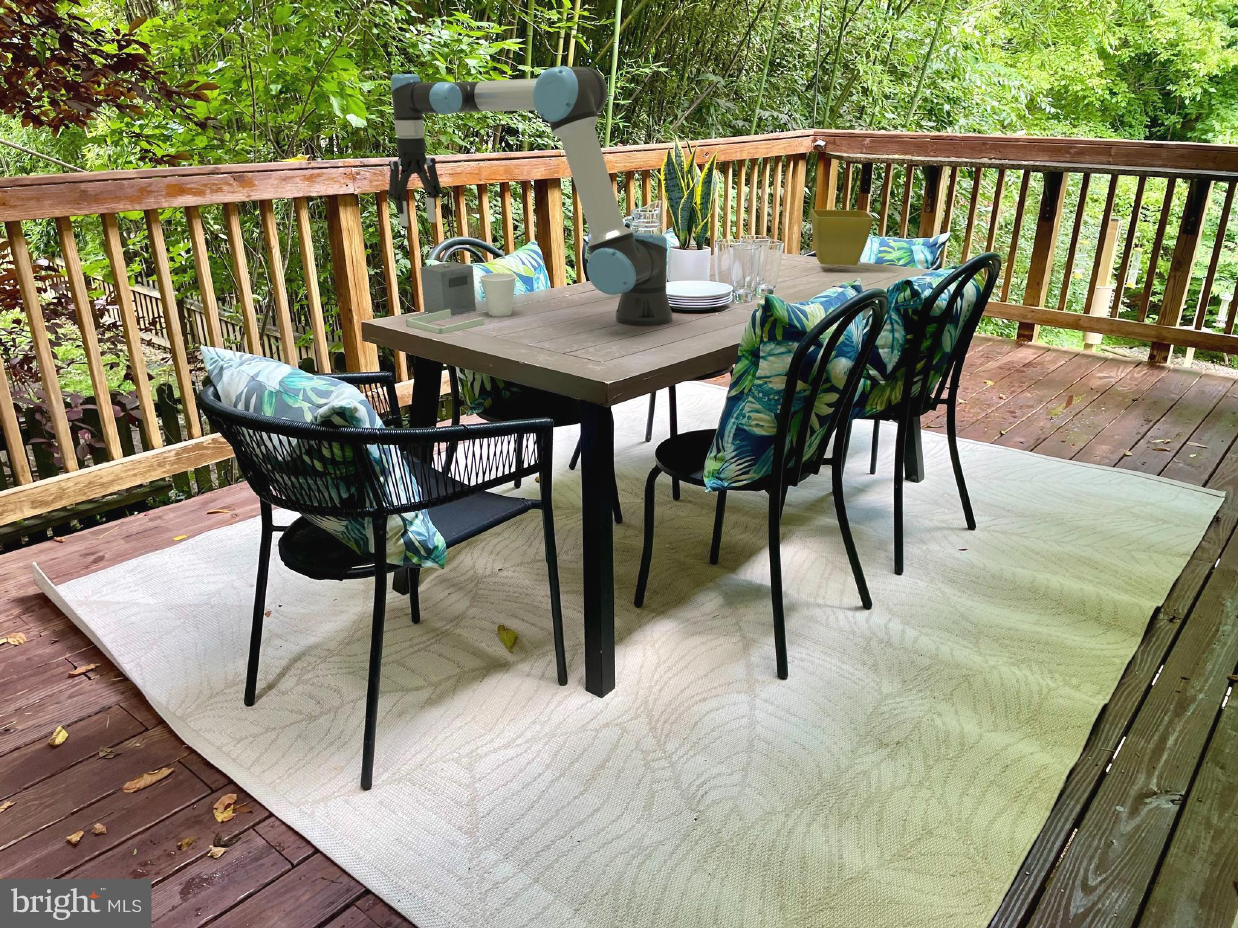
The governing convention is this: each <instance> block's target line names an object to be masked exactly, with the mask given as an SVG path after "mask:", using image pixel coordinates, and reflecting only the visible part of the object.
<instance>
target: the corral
mask: <svg viewBox="0 0 1238 928" xmlns="http://www.w3.org/2000/svg"><path fill="white" fill-rule="evenodd" d="M446 318H447V319H451V318H452V316H451V310H450V309H448V310H444V311H439V312H435V313H431V314H428V313H426V314H423V315H419V316H413V317H411V318H406V319H405V325H406V327H409V326H410V328H414V329H417V330H422V331H427V332H430V333H431V332H432V333H435V334H440V335H443V334H447V333H452V332H458V331H463V330H465V329H466V330H467V329H471V328H475V327H476V328H477V327H479V326H480V327H481V326H485V318H484V317H478V318H475V319H471V320H467V321H462V322H458V323H454V324H449V325H446V326H442V327H439V326H435V325H431V324H427V323H431V321H432V322H436V321H437V322H438V321H441V320H446Z"/></svg>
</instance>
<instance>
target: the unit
mask: <svg viewBox="0 0 1238 928" xmlns="http://www.w3.org/2000/svg"><path fill="white" fill-rule="evenodd" d="M419 269H420V271H419V272H420V280H421V290H422V301H423V311H424V312H428V313H435V312H439V311H444V310H448V309H450V310H451V315H453V316H457V315H456V314H458V315H462V314H461V313H463V314H466V313H465V312H468V313H470V312H469V311H473V312H477V307H476V293H475V291H476V290H475V280H474V279H475V276H474V266H473V265H472V264H471V265H470V264H468V263H467V264H466V263H462V262H457V261H448V262H444V263H443V262H441V263H438V264H432V265H428V266H427V265H426V266H420V268H419ZM428 313H427V314H428Z"/></svg>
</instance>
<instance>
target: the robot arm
mask: <svg viewBox="0 0 1238 928" xmlns="http://www.w3.org/2000/svg"><path fill="white" fill-rule="evenodd" d="M420 79H421V78H420V76H419V74H417V73H416V74H415V73H413V74H412V73H407V74H406V73H402V74H401V73H395V74H393V75H392V76H391V77H390V89H391V90H390V93H391V101H392V109H393V119H394V129H395V136H397V138H396V140H395V141H396V151H397V153H398V158H397V159H396V160H389V161H388V165H389V170H390V172H389V186H388V198H389V199H388V200H392V201H395V207H396V208H395V209H396V213H397V214H399V215H398V216H399V225H400V226H401V227H402V226H403V227H409V217H408V216H409V215H408V209H407V208H408V207H407V206H408V205H407V201H406V200H405V201H404V199H405V195H406V193H407V190H408V189H407V188H408V186H409V185H408V184H409V181H410V178H411V177H412V175H415V174H416V175H417V176H418V178H419V180H420V182H421V184H422V186H423V188H424V190H425V192H426V193H427V196H428V197H425V202H426V204H425V205H426V216H427V222H429V223H437V217H436V210H437V208H438V206H437V205H438V204H437V198H439V195H442V192H443V191H442V188H441V184H440V179H439V175H438V172H437V166H436V164H437V163H436V158H435V157H427V156H426V151H427V148H426V147H427V145H426V138H424V136H425V135H426V133H425V122H424V117H423V116H424V114H435V115H438V114H439V115H442V116H445V115H453V114H456V113H458V114H459V113H480V112H481V113H483V112H514V111H516V112H518V111H536V112H537V114H538V115H539V116H540V117H541V118H543V119H544V120H545V121H547V122H548V125H549V127H550V130H551V132H552V135H554V136H555V137H557V138H558V139H560V141H561V145H562V147H563V151H564V154H565V157H566V160H567V164H568V167H569V170H570V173H571V177H572V179H573V183H574V185H575V188H576V189H575V190H576V192H577V195H578V199H579V203H580V205H581V209H582V212H583V214H584V218H585V222H586V224H587V227H588V230H589V233H590V234H589V235H590V239H589V241H588V243H587V249H588V252H589V255H590V256H589V257H588V261H587V262H586V273H587V274H586V275H587V277H588V279H589V281H590V283H591V285H592V286H594V288H595V289H596V290H598V291H600V292H601V293H603V294H605V295H609V296H614V295H620V298H619V301H618V305H617V309H616V311H615V322H616V323H619V324H620V325H626V326H635V327H653V326H654V327H656V326H662V325H667V324H670V323H672V322H673V311H672V309H671V305H670V302H669V298H668V294H667V267H668V266H667V264H668V246H667V245H668V241H667V237H666V236H664V234H660V233H659V234H658V233H648V232H634V231H633V230H631V229H630V228H628V227H626V226H625V224H624V220H623V218H622V214H621V210H620V207H619V204H618V201H617V197H616V194H615V190H614V187H613V184H612V181H611V177H610V175H609V171H608V167H607V164H606V161H605V158H604V155H603V151H602V148H601V143H600V141H599V138H598V135H597V131H596V125H597V123H598V121H599V115H598V114H599V113H600V112H601V111H603V109H604V107H605V106H606V103H607V101H608V97H609V96H608V94H609V91H608V90H609V89H608V85H607V83H606V80H605V79H604V77H603V76H602V74H601V73H600V72H599V71H597V70H596V69H594V68H591V67H588V66H565V65H558V66H555V67H554V66H553V67H550V68H547V69H545V70H544V71H542V73H540V75H538V77H537V78H519V79H518V78H517V79H497V80H482V81H481V80H480V81H479V80H478V81H477V80H476V81H474V80H473V81H449V82H447V81H436V82H429V81H428V82H421V80H420Z"/></svg>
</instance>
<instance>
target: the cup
mask: <svg viewBox="0 0 1238 928" xmlns="http://www.w3.org/2000/svg"><path fill="white" fill-rule="evenodd" d="M516 278H517V275H516V274H514V273H510V272H491V273H485V274H482V275H480V276H479V279H480V283H481V285H482V291H483V294H484V299H485V304H486V308H487V312H488V315H489V316H490V315H492V316H491V317H506V316H507V317H508V316H511V315H512V311H513V304H514V303H513V301H514V294H515V287H516V286H515V285H516Z"/></svg>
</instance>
